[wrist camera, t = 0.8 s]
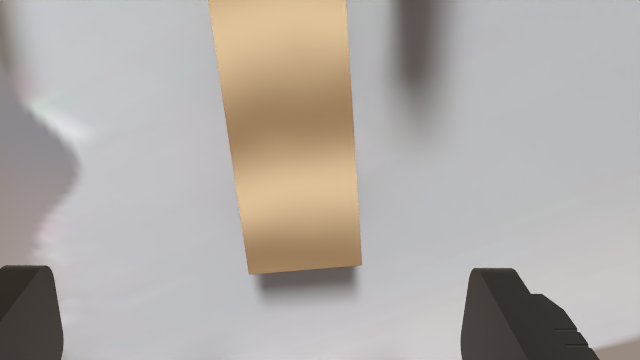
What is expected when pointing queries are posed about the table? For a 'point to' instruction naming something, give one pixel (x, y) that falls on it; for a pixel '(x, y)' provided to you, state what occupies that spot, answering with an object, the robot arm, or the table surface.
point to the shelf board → (290, 130)
